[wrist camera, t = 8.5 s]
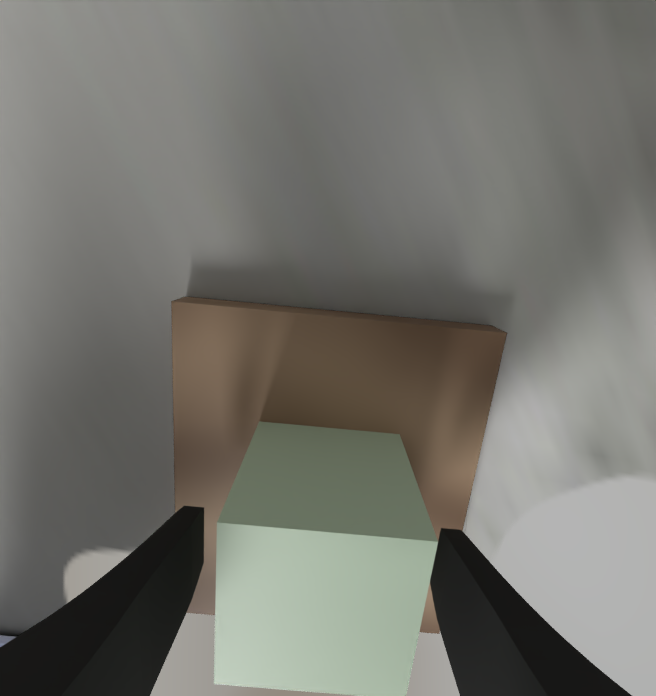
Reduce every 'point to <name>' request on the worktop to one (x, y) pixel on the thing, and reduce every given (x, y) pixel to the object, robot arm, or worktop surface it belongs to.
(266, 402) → the cutting board
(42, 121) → the worktop surface
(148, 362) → the worktop surface
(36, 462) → the worktop surface
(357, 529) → the green cube
